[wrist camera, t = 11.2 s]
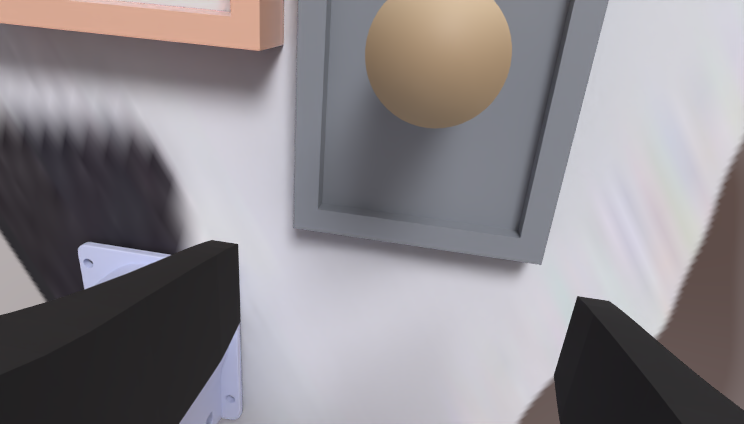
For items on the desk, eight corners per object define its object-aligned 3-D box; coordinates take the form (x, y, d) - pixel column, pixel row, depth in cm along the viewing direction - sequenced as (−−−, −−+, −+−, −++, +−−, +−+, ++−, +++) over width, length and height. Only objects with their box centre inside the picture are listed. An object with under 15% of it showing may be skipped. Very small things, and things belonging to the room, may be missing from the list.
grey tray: (535, 247, 21) (541, 264, 19) (303, 213, 22) (293, 228, 20) (656, -245, 14) (677, -272, 13) (317, -257, 15) (304, -282, 14)
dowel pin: (479, 84, 18) (495, 136, 11) (391, 73, 18) (359, 118, 12) (497, -14, 16) (527, -15, 10) (402, -24, 17) (372, -31, 10)
